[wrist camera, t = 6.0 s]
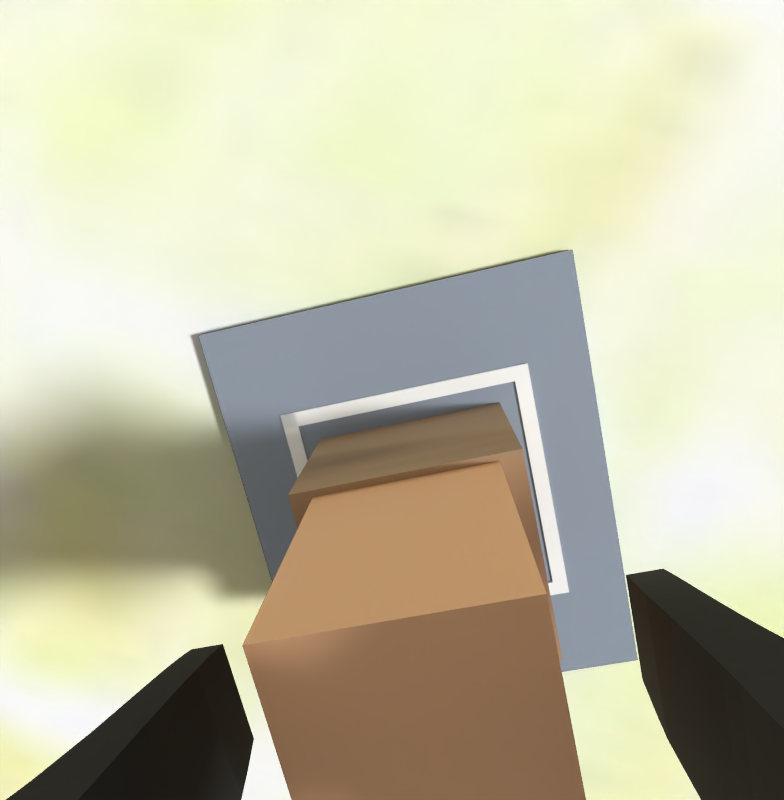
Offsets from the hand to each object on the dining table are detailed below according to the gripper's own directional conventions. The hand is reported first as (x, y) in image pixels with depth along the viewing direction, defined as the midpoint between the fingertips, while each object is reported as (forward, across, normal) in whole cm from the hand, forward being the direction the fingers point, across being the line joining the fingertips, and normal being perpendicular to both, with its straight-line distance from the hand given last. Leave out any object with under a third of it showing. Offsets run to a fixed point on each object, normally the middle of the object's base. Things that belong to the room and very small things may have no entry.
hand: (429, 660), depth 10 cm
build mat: (+7, 0, 0) cm, 7 cm away
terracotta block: (+3, 0, 0) cm, 3 cm away
